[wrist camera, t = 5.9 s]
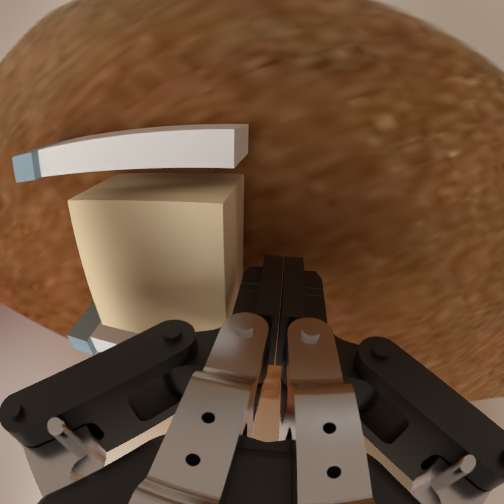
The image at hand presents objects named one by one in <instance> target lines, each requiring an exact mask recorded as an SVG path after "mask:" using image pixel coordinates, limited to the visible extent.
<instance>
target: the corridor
mask: <svg viewBox="0 0 504 504" xmlns="http://www.w3.org/2000/svg"><path fill="white" fill-rule="evenodd" d="M248 133H249V124H197V125H176V126H162V127H150V128H140V129H131V130H123V131H115V132H108V133H101V134H95V135H89V136H83V137H78V138H73V139H68V140H63V141H58V142H55V143H52V144H49V145H45V146H42V147H39V148H36V149H33V150H30V151H28V152H25V153H22V154H19V155H17V156H14V157H12V159H13V167H14V173H15V179H16V182H23V181H30V180H36V179H38V178H40V177H45V176H53V175H62V174H71V173H82V172H93V171H107V170H123V169H145V168H235V167H236V166H237V165H238V164H239V162H240V161H241V160H242V159H243V158H244V157H245V156H246V155H247V154H248ZM137 334H139V333H135V332H130V331H126V330H122V329H118V328H114V327H110V326H106V325H102V322H101V319H100V317H99V314H98V311H97V308H96V305H95V303H94V302H93V303H92V304H91V305H90V307H89V308H88V309H87V310H86V312H85V313H84V314H83V315H82V316H81V318H80V319H79V320H78V322H77V323H76V324H75V325H74V327H73V328H72V329H71V330H70V332H69V333H68V334H67V336H68V338H69V340H70V342H71V344H72V346H73V348H74V349H75V350H78V351H81V352H84V353H87V354H90V355H93V356H94V354H95V353H96V351H98V352H103V351H105V350H107V349H109V348H111V347H113V346H115V345H117V344H119V343H121V342H123V341H125V340H127V339H129V338H131V337H133V336H135V335H137Z"/></svg>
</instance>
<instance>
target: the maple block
mask: <svg viewBox="0 0 504 504" xmlns="http://www.w3.org/2000/svg"><path fill="white" fill-rule="evenodd" d="M68 206H69V211H70V216H71V220H72V225H73V229H74V234H75V238H76V242H77V246H78V250H79V254H80V257H81V261H82V265H83V268H84V271H85V275H86V278H87V281H88V285H89V288H90V291H91V294H92V297H93V300H94V303H95V305H96V308H97V311H98V314H99V317H100V319H101V322H102V325H106V326H110V327H114V328H118V329H122V330H126V331H130V332H135V333H141V332H143V331H145V330H147V329H149V328H151V327H153V326H155V325H157V324H159V323H161V322H164V321H167V320H174V319H176V320H183V321H186V322H188V323H189V324H191V325H192V326H193V328H194V329H195V332H198V331H208V330H213V329H217V328H219V327H221V326H222V324H223V322H224V321H225V320H226V319H227V318H228V317H229V316H231V315H232V313H233V309H234V306H235V302H236V299H237V295H238V291H239V288H240V284H241V281H242V277H243V221H244V174H230V173H125V174H117V175H115V176H113V177H111V178H109V179H107V180H105V181H103V182H101V183H99V184H97V185H95V186H93V187H91V188H89V189H87V190H86V191H84V192H82V193H80V194H78V195H76V196H75V197H73V198H71V199H69V200H68Z"/></svg>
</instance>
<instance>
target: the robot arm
mask: <svg viewBox="0 0 504 504" xmlns="http://www.w3.org/2000/svg"><path fill="white" fill-rule="evenodd" d="M282 271H283V256H271V255H265V259H264V265H263V267H253V266H251V267H250V268H249V269H248V270H246V271H245V272H244V274H243V277H242V281H241V284H240V288H239V291H238V295H237V299H236V302H235V306H234V309H233V313H232V315H231V316H229V317H228V318H227V319H226V320H225V321H224V322H223V324H222V326H221V327H219V328H217V329H213V330H208V331H198V332H195V329H194V328H193V326H192V325H191V324H189V323H188V322H186V321H183V320H176V319H174V320H167V321H164V322H161V323H159V324H157V325H155V326H153V327H151V328H149V329H147V330H145V331H143V332H141V333H139V334H137V335H135V336H133V337H131V338H129V339H127V340H125V341H123V342H121V343H119V344H117V345H115V346H113V347H111V348H109V349H107V350H105V351H103V352H101V353H99V354H96V355H94V356H93V357H90V358H88V359H86V360H84V361H82V362H80V363H78V364H76V365H74V366H72V367H69V368H67V369H65V370H63V371H61V372H59V373H57V374H55V375H52V376H50V377H48V378H46V379H44V380H42V381H39V382H38V383H35V384H33V385H31V386H29V387H26V388H24V389H22V390H20V391H18V392H16V393H13V394H11V395H9V396H8V397H7V398H6V399H5V400H4V401H3V403H2V404H1V407H0V422H1V424H2V426H3V427H4V428H5V429H6V430H7V431H8V432H9V433H10V434H11V435H12V436H13V437H15V438H16V439H17V440H18V442H19V443H20V444H21V445H22V446H23V448H24V451H25V454H26V457H27V460H28V462H29V465H30V468H31V470H32V473H33V475H34V478H35V480H36V483H37V485H38V487H39V490H40V492H41V494H42V496H43V498H42V499H41V500H40V501H39V503H38V504H483V503H484V501H485V500H486V498H487V496H488V495H489V493H490V491H491V490H493V489H494V488H496V487H497V486H499V485H501V484H502V483H504V430H503V429H502V428H500V427H499V426H498V425H497V424H496V423H494V422H493V421H492V420H491V419H489V418H488V417H487V416H486V415H484V414H483V413H482V412H481V411H480V410H478V409H477V408H476V407H475V406H473V405H472V404H471V403H470V402H468V401H467V400H466V399H465V398H463V397H462V396H461V395H460V394H458V393H457V392H456V391H455V390H453V389H452V388H451V387H450V386H448V385H447V384H446V383H445V382H443V381H442V380H441V379H439V378H438V377H437V376H436V375H434V374H433V373H432V372H431V371H429V370H428V369H427V368H426V367H424V366H423V365H422V364H420V363H419V362H418V361H417V360H415V359H414V358H413V357H411V356H410V355H409V354H408V353H406V352H405V351H404V350H403V349H401V348H400V347H399V346H397V345H396V344H395V343H393V342H392V341H390V340H388V339H386V338H383V337H369V338H367V339H365V340H363V341H362V342H361V343H360V345H357V344H354V343H350V342H347V341H344V340H342V339H340V338H338V337H336V336H335V335H334V334H333V331H332V329H331V327H330V326H329V325H328V324H327V317H326V309H325V301H324V293H323V285H322V279H321V278H320V276H319V275H318V274H317V273H316V271H304V263H303V258H297V257H285V261H284V273H283V283H282ZM281 285H282V294H281ZM280 299H281V306H280ZM279 312H280V319H279ZM278 322H279V332H278V343H277V355H276V365H281V366H282V367H281V377H280V384H279V394H280V432H279V433H280V434H279V441H276V442H262V441H259V440H256V439H253V438H252V433H253V428H254V423H255V420H256V415H257V411H258V407H259V403H260V399H261V394H262V390H263V386H264V380H265V378H266V376H267V369H268V365H274V358H275V349H276V341H277V331H278ZM174 414H175V415H174ZM172 415H174V417H173V419H172V422H171V424H170V426H169V428H168V431H167V433H166V434H165V435H162V436H159V437H156V438H154V439H152V440H149V441H148V442H146V443H144V444H143V445H141V446H140V447H138V448H136V449H134V450H133V451H131V452H129V453H128V454H126V455H124V456H122V457H121V458H119V459H118V460H116V461H114V462H112V463H110V464H108V465H106V466H105V467H104V464H105V460H106V452H108V451H110V450H112V449H114V448H115V447H117V446H119V445H121V444H123V443H125V442H127V441H129V440H130V439H132V438H134V437H136V436H138V435H139V434H141V433H143V432H145V431H147V430H148V429H150V428H152V427H154V426H155V425H157V424H159V423H160V422H162V421H164V420H166V419H167V418H169V417H170V416H172ZM363 435H364V436H365V437H366V438H367V439H368V440H369V441H370V442H371V443H372V444H374V446H375V447H376V448H378V449H379V450H380V451H381V452H382V453H383V454H384V455H385V456H386V457H387V458H388V459H389V460H390V461H391V462H393V463H394V464H395V465H396V466H397V467H398V468H399V469H400V470H401V471H403V472H404V473H405V474H406V475H407V476H408V477H409V478H410V479H411V480H413V481H414V482H413V485H412V492H411V493H410V492H409V491H408V490H407V489H406V488H405V487H404V486H403V485H402V484H401V483H400V482H398V480H397V479H396V478H395V477H393V476H392V474H391V473H390V472H389V471H387V469H386V468H385V467H384V466H383V465H382V464H380V462H379V461H377V460H376V459H375V458H373V457H372V456H371V455H369V454H367V453H366V449H365V443H364V438H363Z"/></svg>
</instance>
